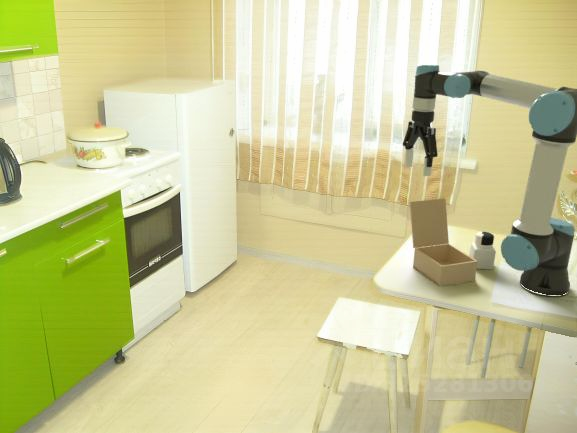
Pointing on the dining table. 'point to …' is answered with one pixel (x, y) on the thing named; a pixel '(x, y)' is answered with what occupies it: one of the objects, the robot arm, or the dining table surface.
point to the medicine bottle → (483, 250)
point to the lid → (429, 222)
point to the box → (445, 264)
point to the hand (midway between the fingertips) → (417, 171)
